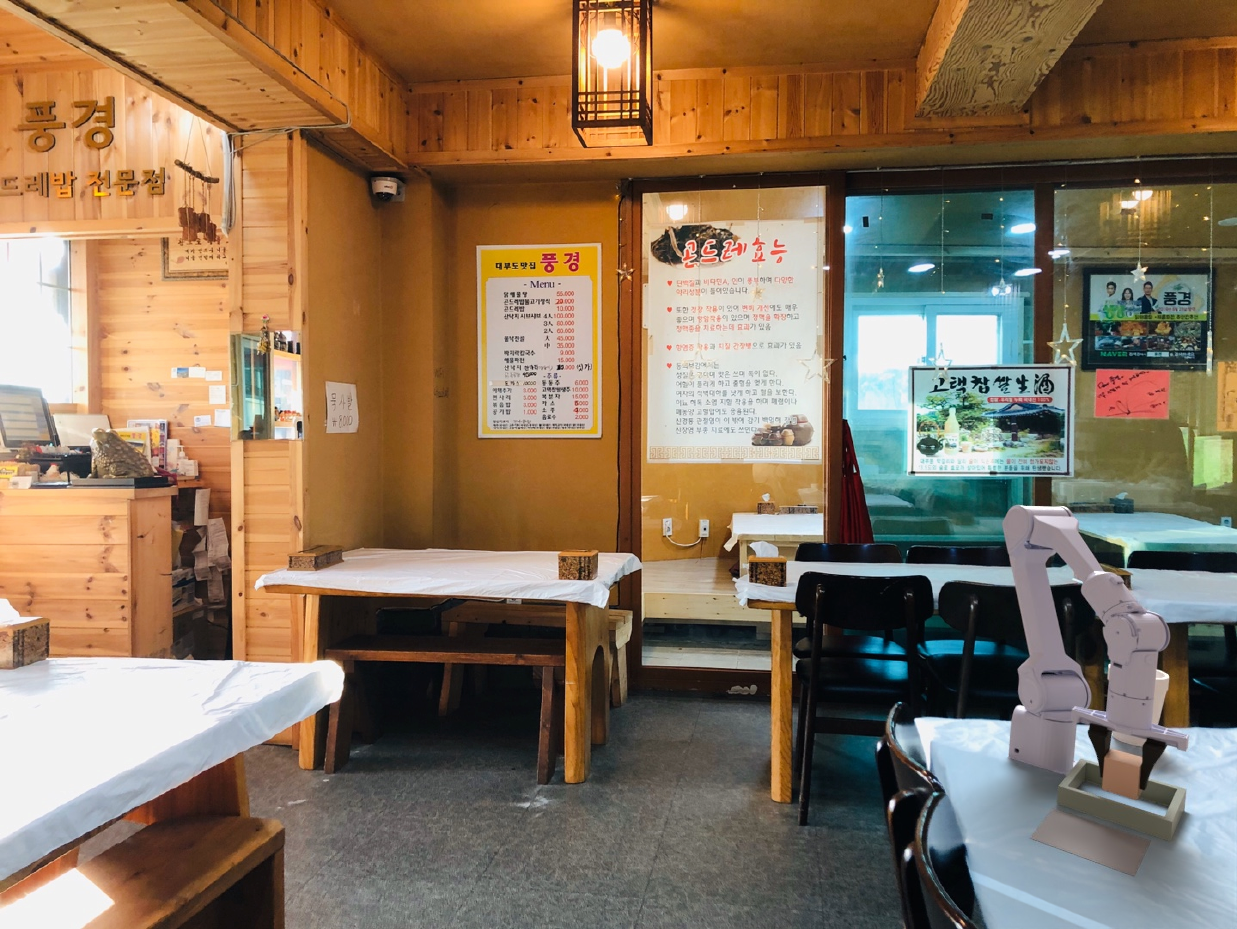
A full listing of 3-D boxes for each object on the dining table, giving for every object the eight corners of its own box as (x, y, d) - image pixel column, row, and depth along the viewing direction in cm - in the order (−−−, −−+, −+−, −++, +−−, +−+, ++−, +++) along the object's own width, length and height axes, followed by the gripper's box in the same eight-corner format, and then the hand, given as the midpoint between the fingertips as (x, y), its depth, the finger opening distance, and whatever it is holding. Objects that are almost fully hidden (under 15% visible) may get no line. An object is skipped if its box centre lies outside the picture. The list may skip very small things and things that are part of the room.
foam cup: (1154, 734, 147) (1159, 667, 146) (1170, 754, 138) (1177, 682, 137) (1096, 726, 150) (1102, 660, 149) (1109, 744, 141) (1115, 674, 140)
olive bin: (1056, 808, 116) (1058, 785, 116) (1079, 779, 126) (1080, 758, 126) (1170, 846, 106) (1172, 822, 106) (1184, 811, 117) (1186, 789, 116)
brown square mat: (1029, 843, 106) (1029, 838, 106) (1052, 813, 114) (1053, 808, 114) (1133, 882, 97) (1134, 876, 97) (1150, 846, 106) (1150, 840, 106)
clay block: (1101, 789, 116) (1104, 757, 115) (1108, 780, 119) (1110, 748, 119) (1136, 800, 113) (1139, 767, 112) (1142, 790, 116) (1145, 758, 116)
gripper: (1069, 685, 117) (1062, 773, 118) (1187, 713, 107) (1178, 808, 108) (1080, 675, 122) (1073, 759, 123) (1193, 701, 113) (1185, 792, 113)
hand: (1123, 781), depth 116 cm, fingers closed on clay block, 4 cm apart
